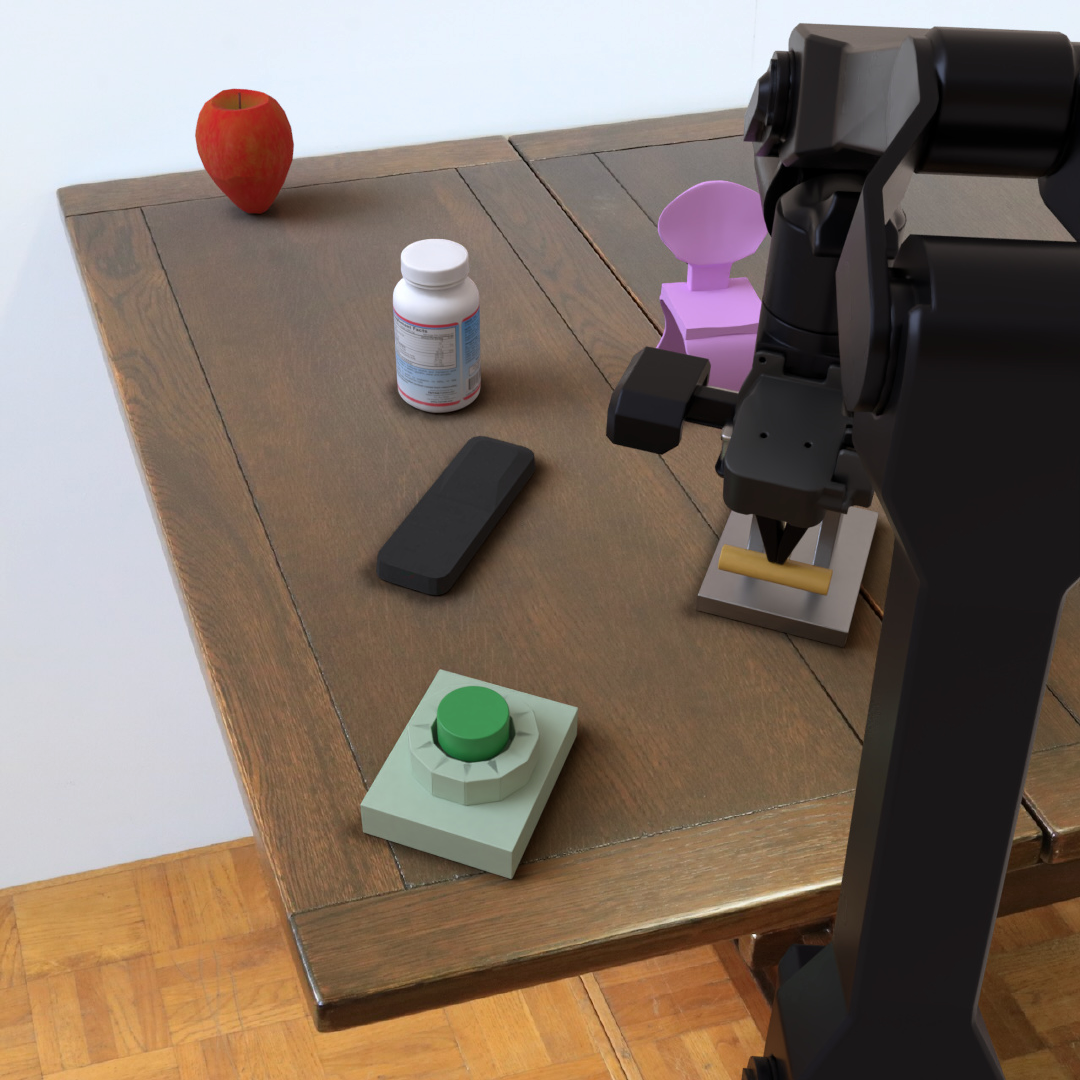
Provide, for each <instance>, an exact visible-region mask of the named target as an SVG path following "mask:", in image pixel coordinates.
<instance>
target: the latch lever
mask: <svg viewBox="0 0 1080 1080" xmlns="http://www.w3.org/2000/svg"><path fill="white" fill-rule="evenodd" d="M785 525H786V522H785ZM784 528H785V527H784ZM791 554H792V553H791ZM791 554H790V556H789V557H788V559H787V560H786V562H785V563H784V564H783V565H779V564H776V563H771V562H768V560H767V556H766V554H765V553H761V552H757V551H752V550H748V549H744V548H740V547H736V546H732V545H727V544H724V546H723V548H722V551H721V554H720V558H719V563H718V569H719V570H723V571H727V572H731V573H735V574H739V575H743V576H747V577H752V578H756V579H760V580H764V581H768V582H772V583H776V584H780V585H784V586H788V587H792V588H796V589H800V590H805V591H809V592H813V593H817V594H821V595H825V596H826V595H827V594H828V591H829V587H830V583H831V579H832V574H833V570H831V569H827V568H823V567H819V566H815V565H811V564H807V563H802V562H798V561H794V560H790V557H791Z"/></svg>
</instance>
